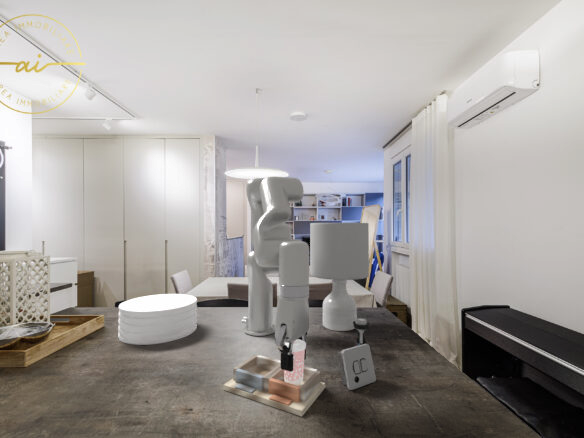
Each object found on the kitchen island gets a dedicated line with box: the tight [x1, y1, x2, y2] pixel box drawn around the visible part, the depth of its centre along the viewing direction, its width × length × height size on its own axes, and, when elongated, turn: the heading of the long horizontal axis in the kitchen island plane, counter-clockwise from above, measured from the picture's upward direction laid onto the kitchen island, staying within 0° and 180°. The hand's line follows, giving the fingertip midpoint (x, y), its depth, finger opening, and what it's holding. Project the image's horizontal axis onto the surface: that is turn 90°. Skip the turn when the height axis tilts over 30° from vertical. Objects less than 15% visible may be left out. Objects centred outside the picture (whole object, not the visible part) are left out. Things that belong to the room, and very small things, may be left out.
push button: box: [353, 317, 370, 346], centre depth 97 cm, size 7×5×10 cm
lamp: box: [309, 222, 370, 332], centre depth 123 cm, size 24×24×42 cm
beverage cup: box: [284, 338, 307, 385], centre depth 73 cm, size 6×6×14 cm
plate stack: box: [117, 293, 198, 346], centre depth 116 cm, size 28×28×12 cm
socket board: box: [222, 354, 326, 417], centre depth 74 cm, size 22×13×4 cm, turn 61°
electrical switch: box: [336, 343, 377, 391], centre depth 78 cm, size 9×5×9 cm, turn 121°
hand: (293, 363), depth 73 cm, fingers closed on beverage cup, 6 cm apart
